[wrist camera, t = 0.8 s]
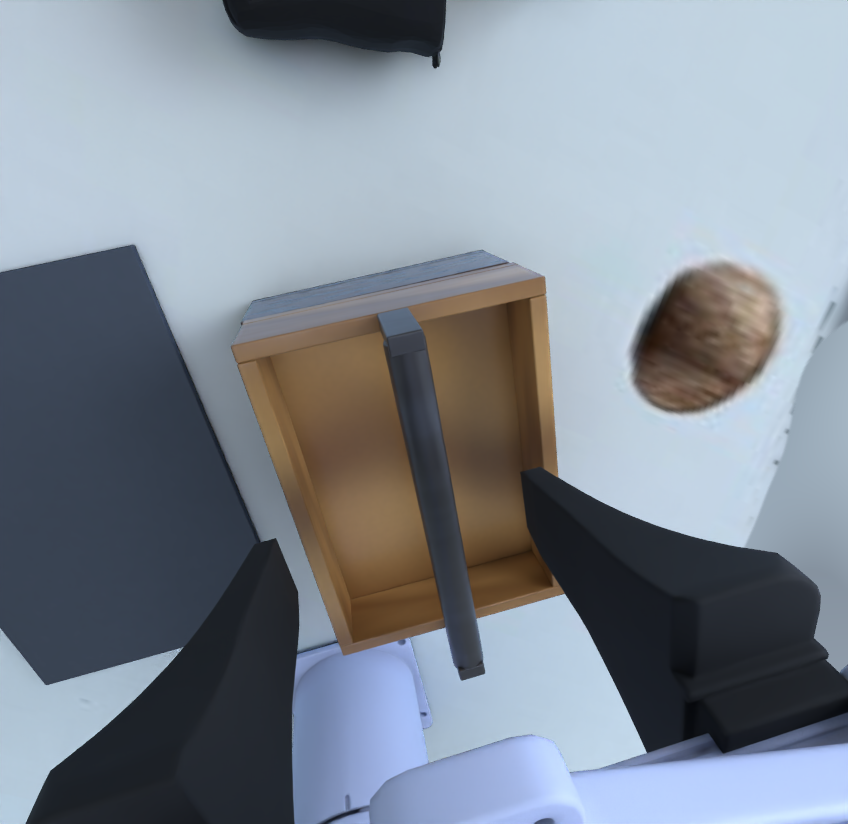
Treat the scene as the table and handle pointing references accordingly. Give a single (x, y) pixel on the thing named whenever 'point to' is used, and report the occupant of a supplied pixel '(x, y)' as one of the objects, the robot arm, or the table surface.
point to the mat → (105, 473)
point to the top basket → (412, 450)
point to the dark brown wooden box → (372, 283)
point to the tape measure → (346, 22)
